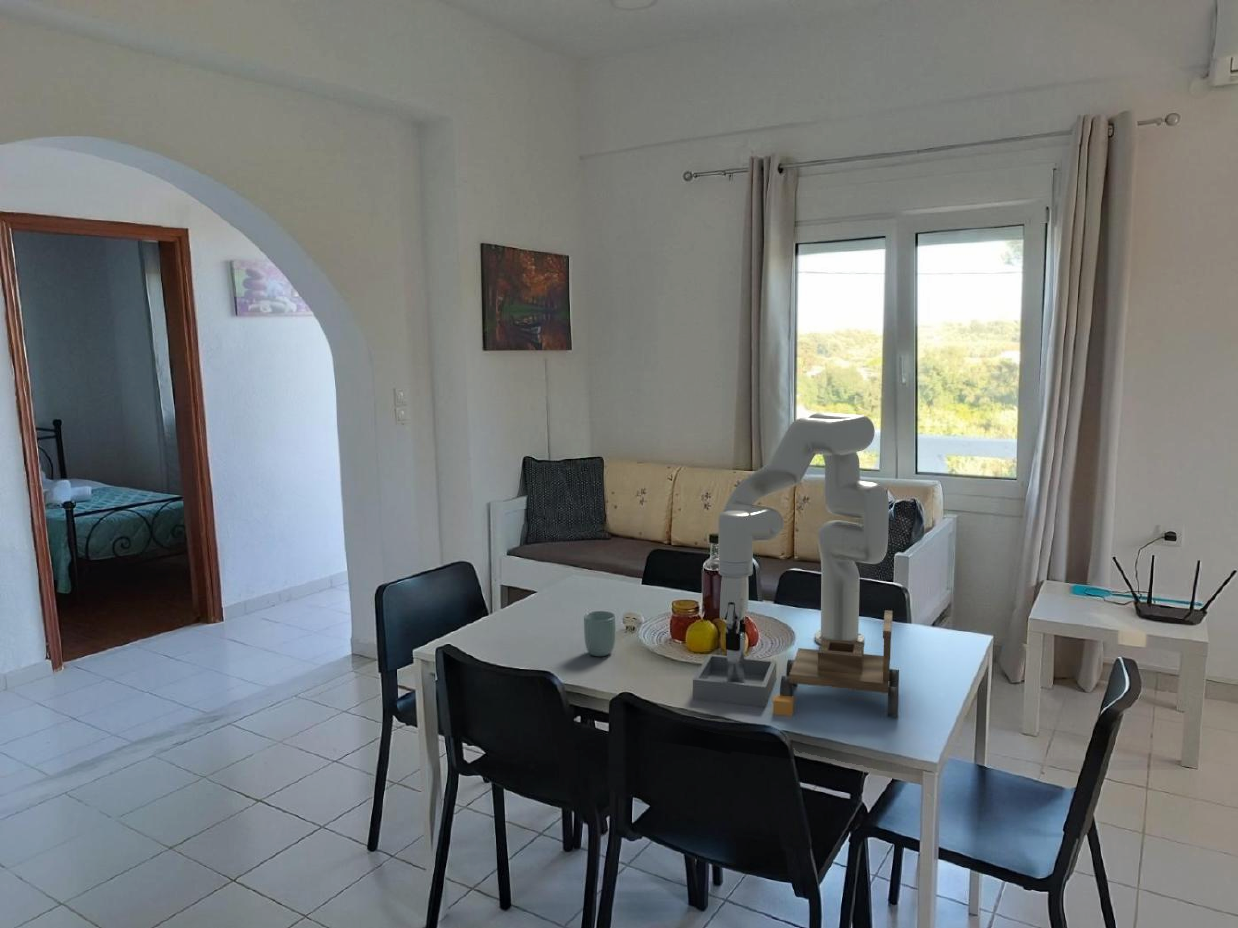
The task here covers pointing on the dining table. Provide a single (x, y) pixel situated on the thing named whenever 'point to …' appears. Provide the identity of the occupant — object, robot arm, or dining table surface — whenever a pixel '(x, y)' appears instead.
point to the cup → (599, 632)
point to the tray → (716, 687)
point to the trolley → (845, 668)
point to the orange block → (783, 705)
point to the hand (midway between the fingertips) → (735, 644)
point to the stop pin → (736, 662)
